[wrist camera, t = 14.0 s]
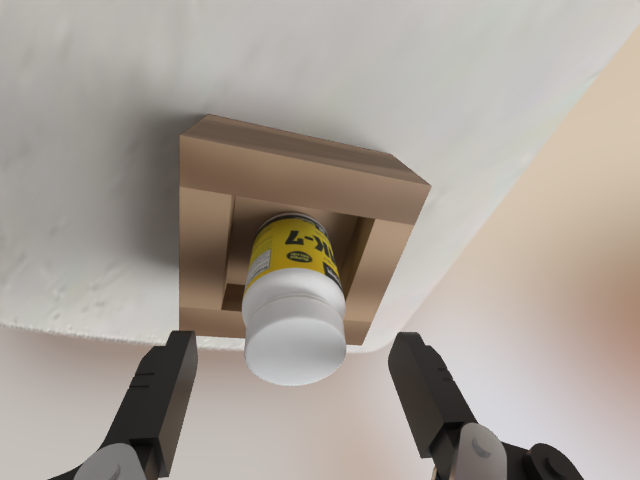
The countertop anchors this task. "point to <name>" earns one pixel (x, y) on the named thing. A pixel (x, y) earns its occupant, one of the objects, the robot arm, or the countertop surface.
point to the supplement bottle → (293, 303)
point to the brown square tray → (285, 197)
